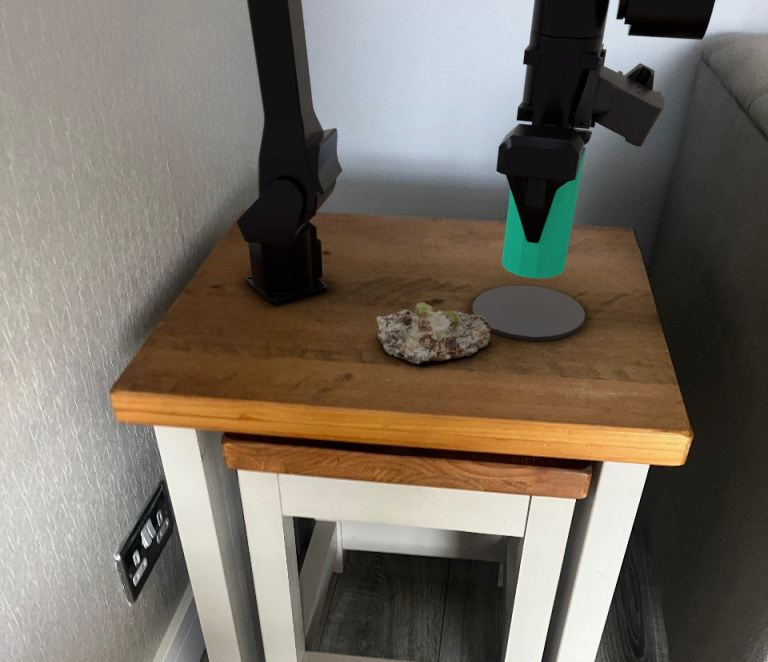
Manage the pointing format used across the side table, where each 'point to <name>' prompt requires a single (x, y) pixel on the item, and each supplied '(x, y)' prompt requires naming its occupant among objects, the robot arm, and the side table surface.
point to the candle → (542, 236)
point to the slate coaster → (529, 313)
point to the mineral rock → (432, 334)
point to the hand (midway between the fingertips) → (538, 228)
